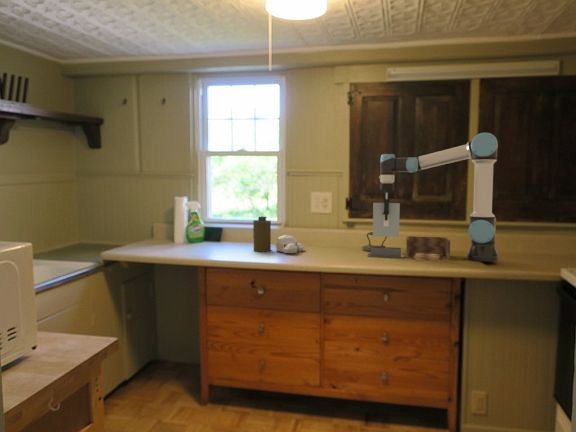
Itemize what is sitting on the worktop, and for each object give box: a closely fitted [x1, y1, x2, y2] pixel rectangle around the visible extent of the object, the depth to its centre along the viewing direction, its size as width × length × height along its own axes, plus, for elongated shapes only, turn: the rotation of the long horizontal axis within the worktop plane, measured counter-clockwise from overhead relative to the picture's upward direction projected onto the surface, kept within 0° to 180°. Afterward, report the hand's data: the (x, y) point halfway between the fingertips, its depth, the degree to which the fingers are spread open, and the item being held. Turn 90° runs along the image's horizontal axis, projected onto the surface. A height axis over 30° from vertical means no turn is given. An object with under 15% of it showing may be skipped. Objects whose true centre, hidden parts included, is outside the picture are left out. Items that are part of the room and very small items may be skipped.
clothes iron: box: [361, 231, 388, 252], centre depth 268 cm, size 14×10×12 cm
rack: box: [405, 235, 451, 261], centre depth 253 cm, size 22×15×10 cm
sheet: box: [372, 202, 401, 238], centre depth 253 cm, size 14×2×18 cm, turn 77°
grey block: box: [367, 246, 405, 259], centre depth 254 cm, size 19×8×5 cm, turn 77°
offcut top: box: [415, 253, 440, 258], centre depth 244 cm, size 12×4×1 cm, turn 71°
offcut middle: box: [413, 255, 440, 261], centre depth 244 cm, size 13×5×1 cm, turn 72°
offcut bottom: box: [413, 258, 443, 262], centre depth 244 cm, size 14×5×1 cm, turn 75°
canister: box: [252, 216, 272, 253], centre depth 274 cm, size 11×10×20 cm
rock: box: [274, 234, 305, 254], centre depth 271 cm, size 18×20×10 cm
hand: (386, 225), depth 253 cm, fingers closed on sheet, 2 cm apart
